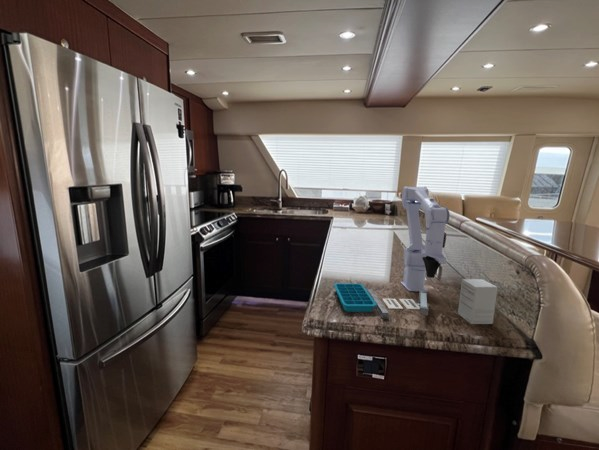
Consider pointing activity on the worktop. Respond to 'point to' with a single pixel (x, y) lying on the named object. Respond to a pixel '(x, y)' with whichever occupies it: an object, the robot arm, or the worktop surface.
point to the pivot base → (419, 304)
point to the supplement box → (477, 301)
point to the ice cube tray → (354, 297)
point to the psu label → (392, 303)
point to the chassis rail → (379, 304)
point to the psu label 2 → (409, 304)
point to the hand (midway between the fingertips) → (430, 277)
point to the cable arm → (423, 302)
